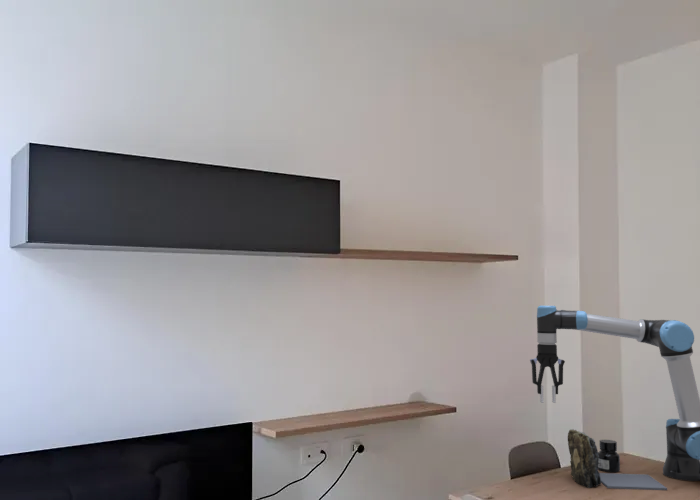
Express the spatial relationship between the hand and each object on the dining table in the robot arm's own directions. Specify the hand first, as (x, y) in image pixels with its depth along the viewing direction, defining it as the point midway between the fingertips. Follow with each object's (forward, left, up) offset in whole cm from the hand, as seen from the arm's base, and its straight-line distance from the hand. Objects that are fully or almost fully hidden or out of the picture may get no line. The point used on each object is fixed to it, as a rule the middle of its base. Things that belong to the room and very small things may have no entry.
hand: (547, 402), depth 255 cm
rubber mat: (-31, -1, -31) cm, 44 cm away
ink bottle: (-29, -19, -31) cm, 46 cm away
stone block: (-13, 0, -31) cm, 33 cm away
